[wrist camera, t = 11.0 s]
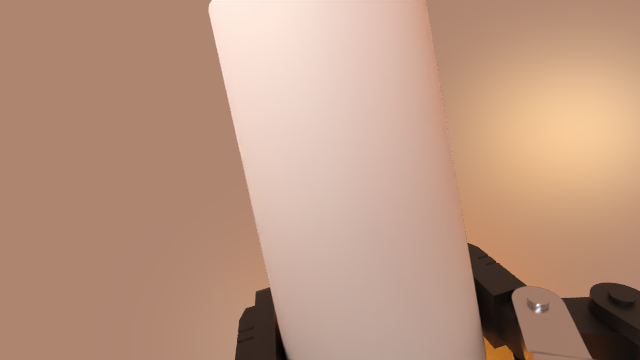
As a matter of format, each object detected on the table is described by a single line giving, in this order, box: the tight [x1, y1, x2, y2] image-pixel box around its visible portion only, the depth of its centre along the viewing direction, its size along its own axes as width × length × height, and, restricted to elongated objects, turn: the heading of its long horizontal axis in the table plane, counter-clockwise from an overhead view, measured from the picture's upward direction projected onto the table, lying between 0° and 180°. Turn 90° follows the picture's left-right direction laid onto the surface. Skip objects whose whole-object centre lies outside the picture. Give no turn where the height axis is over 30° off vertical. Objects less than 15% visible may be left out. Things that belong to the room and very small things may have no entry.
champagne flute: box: [209, 0, 486, 360], centre depth 11 cm, size 7×7×24 cm
